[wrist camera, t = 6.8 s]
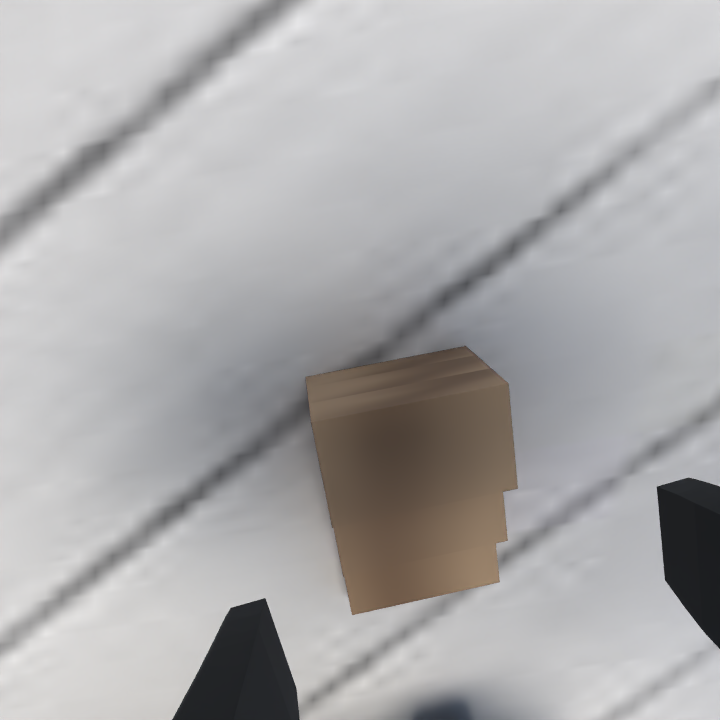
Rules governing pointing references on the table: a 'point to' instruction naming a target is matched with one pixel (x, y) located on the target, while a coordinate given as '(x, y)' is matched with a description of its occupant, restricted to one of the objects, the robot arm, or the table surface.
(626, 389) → the table surface
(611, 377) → the table surface
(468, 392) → the block
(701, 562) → the robot arm
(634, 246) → the table surface
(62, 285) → the table surface
